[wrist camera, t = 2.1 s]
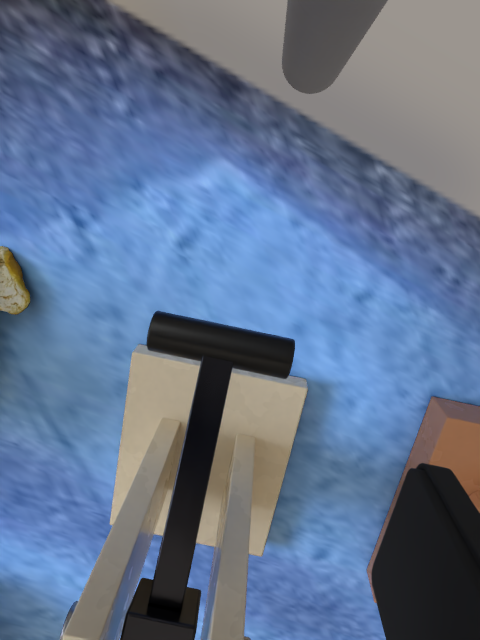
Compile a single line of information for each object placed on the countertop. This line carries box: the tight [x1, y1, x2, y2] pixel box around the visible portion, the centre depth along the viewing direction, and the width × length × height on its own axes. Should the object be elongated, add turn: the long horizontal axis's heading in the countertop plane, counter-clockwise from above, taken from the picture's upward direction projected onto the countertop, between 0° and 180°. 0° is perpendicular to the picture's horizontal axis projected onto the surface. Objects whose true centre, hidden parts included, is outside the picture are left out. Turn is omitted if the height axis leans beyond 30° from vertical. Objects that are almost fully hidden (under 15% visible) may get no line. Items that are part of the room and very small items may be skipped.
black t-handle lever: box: [120, 311, 295, 640], centre depth 15 cm, size 12×5×2 cm, turn 169°
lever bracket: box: [60, 344, 308, 640], centre depth 19 cm, size 11×9×13 cm
